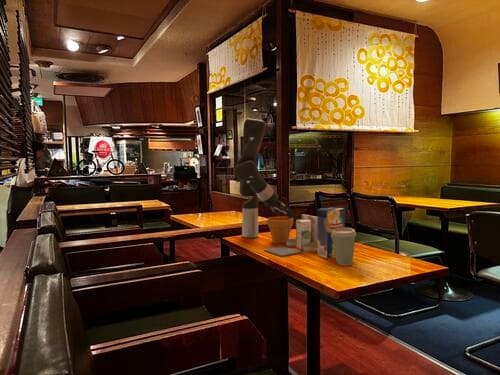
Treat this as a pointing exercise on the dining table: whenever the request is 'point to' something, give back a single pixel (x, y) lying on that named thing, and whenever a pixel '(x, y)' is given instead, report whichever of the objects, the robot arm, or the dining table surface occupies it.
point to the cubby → (314, 235)
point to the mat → (282, 251)
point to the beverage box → (328, 229)
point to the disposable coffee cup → (344, 245)
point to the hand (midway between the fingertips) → (285, 216)
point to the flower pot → (280, 228)
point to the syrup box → (303, 232)
